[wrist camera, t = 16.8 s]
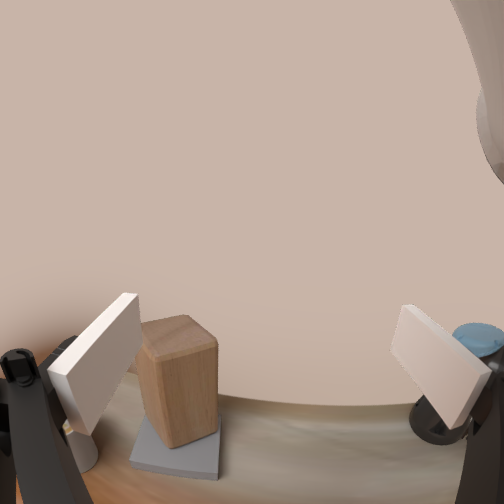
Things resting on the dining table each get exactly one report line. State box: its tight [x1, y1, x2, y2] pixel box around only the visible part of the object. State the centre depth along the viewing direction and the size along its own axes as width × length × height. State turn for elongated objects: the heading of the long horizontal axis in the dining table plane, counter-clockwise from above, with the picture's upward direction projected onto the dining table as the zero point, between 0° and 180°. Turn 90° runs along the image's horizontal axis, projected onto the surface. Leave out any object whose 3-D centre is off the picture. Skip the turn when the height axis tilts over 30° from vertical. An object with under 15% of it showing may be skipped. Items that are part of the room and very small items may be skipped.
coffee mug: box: [63, 420, 98, 473], centre depth 32 cm, size 13×10×10 cm
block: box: [135, 315, 218, 449], centre depth 40 cm, size 10×10×20 cm
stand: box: [129, 414, 221, 480], centre depth 39 cm, size 14×14×2 cm
